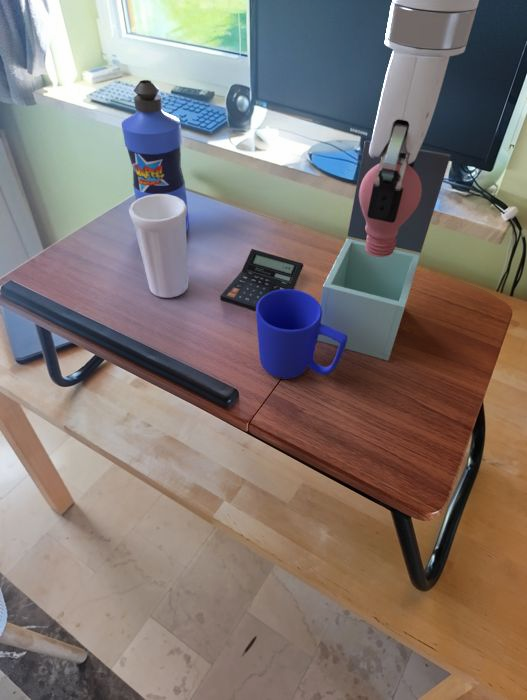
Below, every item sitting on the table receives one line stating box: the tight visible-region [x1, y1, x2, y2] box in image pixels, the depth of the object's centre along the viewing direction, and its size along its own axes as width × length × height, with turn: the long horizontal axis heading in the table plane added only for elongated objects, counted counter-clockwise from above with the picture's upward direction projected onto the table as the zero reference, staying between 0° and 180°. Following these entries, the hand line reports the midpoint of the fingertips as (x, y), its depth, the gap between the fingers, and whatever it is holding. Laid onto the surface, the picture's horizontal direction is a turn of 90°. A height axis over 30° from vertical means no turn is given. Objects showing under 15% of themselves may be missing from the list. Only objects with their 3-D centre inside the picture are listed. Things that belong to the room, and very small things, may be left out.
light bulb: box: [359, 164, 422, 257], centre depth 58 cm, size 7×7×12 cm
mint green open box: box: [317, 237, 421, 361], centre depth 69 cm, size 13×11×10 cm
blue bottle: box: [121, 79, 190, 233], centre depth 81 cm, size 9×9×25 cm
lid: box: [346, 139, 451, 253], centre depth 66 cm, size 14×11×5 cm
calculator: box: [219, 248, 304, 312], centre depth 77 cm, size 9×12×3 cm
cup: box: [128, 194, 189, 299], centre depth 72 cm, size 8×8×14 cm
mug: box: [255, 289, 348, 380], centre depth 62 cm, size 8×12×10 cm
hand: (388, 202), depth 57 cm, fingers closed on light bulb, 7 cm apart
